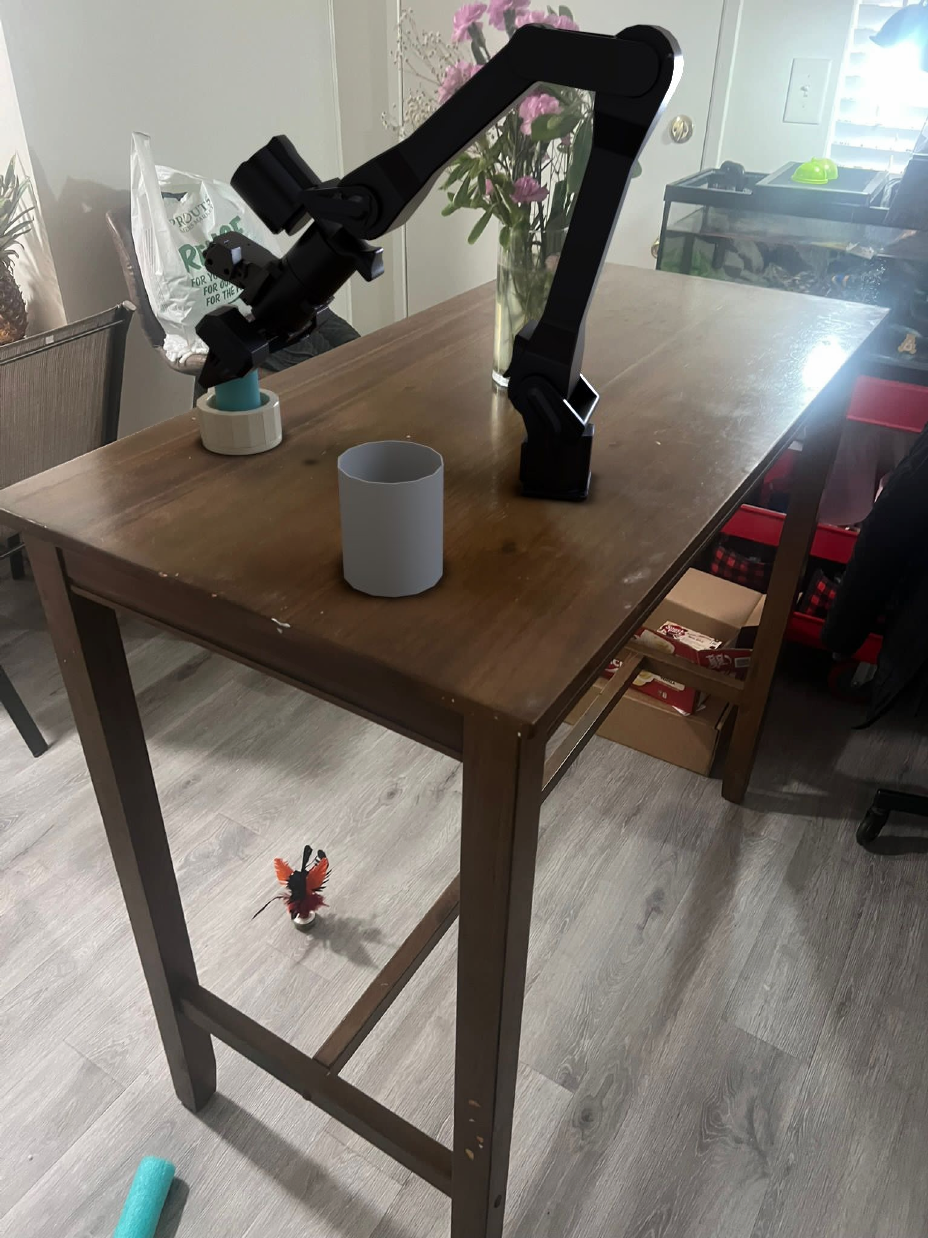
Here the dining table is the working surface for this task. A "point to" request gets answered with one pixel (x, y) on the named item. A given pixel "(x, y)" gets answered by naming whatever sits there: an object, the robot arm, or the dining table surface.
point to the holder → (240, 426)
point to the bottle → (238, 391)
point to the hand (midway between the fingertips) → (222, 372)
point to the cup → (391, 517)
